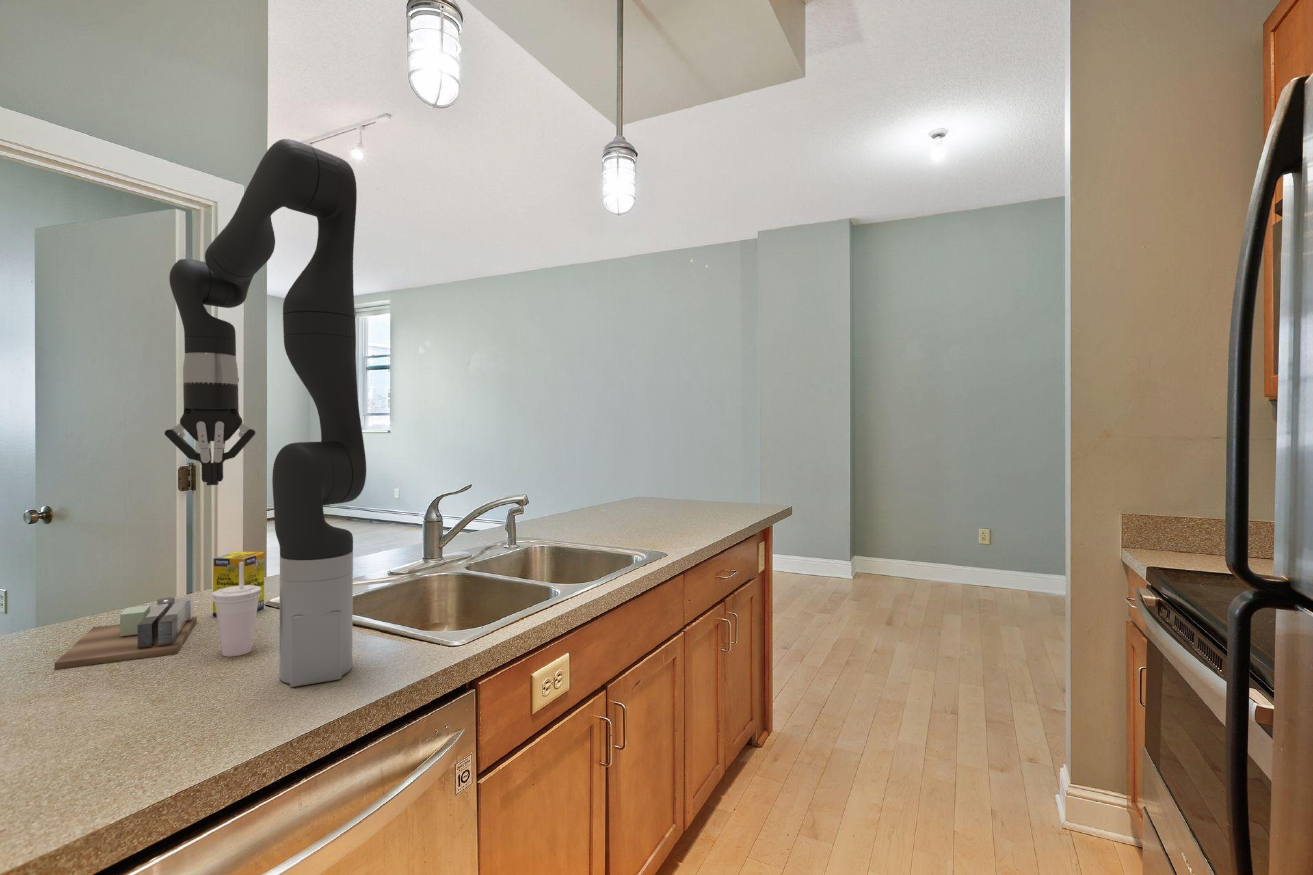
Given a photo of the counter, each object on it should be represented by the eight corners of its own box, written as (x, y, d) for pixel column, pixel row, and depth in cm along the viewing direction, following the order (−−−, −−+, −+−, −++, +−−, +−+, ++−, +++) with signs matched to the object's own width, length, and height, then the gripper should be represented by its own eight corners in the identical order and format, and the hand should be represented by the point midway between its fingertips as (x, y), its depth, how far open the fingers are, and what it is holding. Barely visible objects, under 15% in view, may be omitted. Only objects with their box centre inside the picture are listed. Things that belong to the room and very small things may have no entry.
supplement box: (244, 618, 112) (244, 558, 112) (211, 617, 112) (211, 557, 112) (265, 608, 118) (265, 551, 118) (234, 607, 118) (234, 550, 118)
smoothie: (266, 652, 96) (266, 562, 96) (217, 663, 91) (217, 569, 91) (254, 641, 101) (255, 556, 100) (207, 651, 96) (207, 562, 96)
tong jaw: (151, 646, 95) (151, 623, 94) (137, 648, 94) (137, 624, 94) (169, 624, 105) (169, 603, 105) (156, 625, 104) (156, 604, 104)
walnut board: (176, 653, 95) (176, 647, 95) (54, 669, 88) (54, 662, 88) (196, 621, 110) (196, 615, 110) (93, 632, 103) (93, 627, 103)
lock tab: (144, 633, 100) (144, 612, 100) (120, 636, 99) (120, 614, 98) (150, 626, 103) (150, 605, 103) (127, 628, 102) (127, 607, 102)
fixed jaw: (175, 644, 96) (175, 619, 96) (136, 649, 94) (136, 623, 94) (193, 617, 109) (193, 595, 109) (158, 621, 107) (158, 598, 106)
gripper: (156, 379, 97) (158, 488, 97) (256, 381, 104) (257, 484, 104) (166, 382, 104) (167, 485, 104) (259, 384, 110) (260, 481, 111)
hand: (212, 484), depth 104 cm, fingers closed
